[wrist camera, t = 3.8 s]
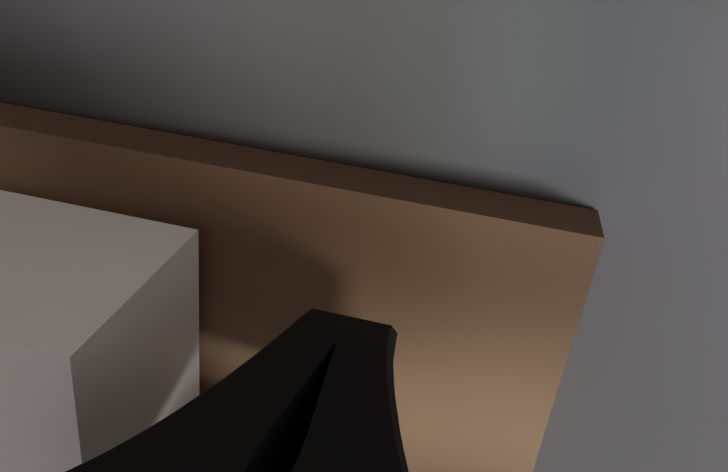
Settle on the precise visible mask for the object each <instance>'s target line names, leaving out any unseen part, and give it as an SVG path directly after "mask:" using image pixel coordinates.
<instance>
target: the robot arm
mask: <svg viewBox="0 0 728 472" xmlns="http://www.w3.org/2000/svg"><path fill="white" fill-rule="evenodd" d="M397 335H398V333H397V332H396V331H395V329H394V328H393V327H392V325H388V324H383V323H378V322H374V321H369V320H364V319H360V318H355V317H350V316H346V315H341V314H336V313H332V312H327V311H322V310H318V309H311V310H310V311H308V312H306V313H305V314H304V315H302V316H301V317H300V318H299V319H298V320H297V321H295V322H294V323H293V324H292V325H291V326H289V327H288V328H287V329H286V330H285V331H284V332H282V333H281V334H280V335H279V336H278V337H276V338H275V339H274V340H273V341H271V342H270V343H269V344H268V345H266V346H265V347H264V348H263V349H261V350H260V351H259V352H258V353H256V354H255V355H254V356H252V357H251V358H250V359H249V360H247V361H246V362H245V363H243V364H242V365H241V366H239V367H238V368H237V369H235V370H234V371H233V372H231V373H230V374H229V375H227V376H226V377H225V378H223V379H222V380H221V381H219V382H218V383H216V384H215V385H214V386H212V387H211V388H209V389H208V390H206V391H205V392H203V393H202V394H200V395H199V396H197V397H196V398H194V399H193V400H191V401H190V402H188V403H187V404H185V405H184V406H182V407H181V408H179V409H178V410H176V411H175V412H173V413H172V414H170V415H169V416H167V417H165V418H164V419H162V420H161V421H159V422H157V423H156V424H154V425H152V426H151V427H149V428H147V429H146V430H144V431H142V432H141V433H139V434H137V435H135V436H134V437H132V438H130V439H128V440H126V441H125V442H123V443H121V444H119V445H117V446H116V447H114V448H112V449H110V450H108V451H107V452H105V453H103V454H101V455H99V456H97V457H95V458H93V459H91V460H89V461H87V462H85V463H83V464H81V465H78V466H76V467H74V468H72V469H70V470H68V471H66V472H409V471H408V466H407V462H406V458H405V453H404V449H403V443H402V438H401V433H400V427H399V420H398V413H397V406H396V399H395V388H394V370H393V359H394V353H395V347H396V341H397Z"/></svg>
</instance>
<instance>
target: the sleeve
mask: <svg viewBox="0 0 728 472" xmlns="http://www.w3.org/2000/svg"><path fill="white" fill-rule="evenodd" d="M197 396H199V239H198V230H197V229H192V228H187V227H182V226H177V225H172V224H167V223H162V222H157V221H152V220H147V219H143V218H138V217H133V216H128V215H123V214H118V213H113V212H108V211H103V210H98V209H93V208H88V207H83V206H78V205H73V204H68V203H63V202H58V201H53V200H48V199H43V198H38V197H33V196H28V195H23V194H18V193H13V192H8V191H3V190H0V472H66V471H68V470H70V469H72V468H74V467H76V466H78V465H81V464H83V463H85V462H87V461H89V460H91V459H93V458H95V457H97V456H99V455H101V454H103V453H105V452H107V451H108V450H110V449H112V448H114V447H116V446H117V445H119V444H121V443H123V442H125V441H126V440H128V439H130V438H132V437H134V436H135V435H137V434H139V433H141V432H142V431H144V430H146V429H147V428H149V427H151V426H152V425H154V424H156V423H157V422H159V421H161V420H162V419H164V418H165V417H167V416H169V415H170V414H172V413H173V412H175V411H176V410H178V409H179V408H181V407H182V406H184V405H185V404H187V403H188V402H190V401H191V400H193V399H194V398H196V397H197Z"/></svg>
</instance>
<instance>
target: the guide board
mask: <svg viewBox="0 0 728 472" xmlns="http://www.w3.org/2000/svg"><path fill="white" fill-rule="evenodd" d="M0 190H3V191H8V192H13V193H18V194H23V195H28V196H33V197H38V198H43V199H48V200H53V201H58V202H63V203H68V204H73V205H78V206H83V207H88V208H93V209H98V210H103V211H108V212H113V213H118V214H123V215H128V216H133V217H138V218H143V219H147V220H152V221H157V222H162V223H167V224H172V225H177V226H182V227H187V228H192V229H197V230H198V239H199V395H200V394H202V393H203V392H205V391H206V390H208V389H209V388H211V387H212V386H214V385H215V384H216V383H218V382H219V381H221V380H222V379H223V378H225V377H226V376H227V375H229V374H230V373H231V372H233V371H234V370H235V369H237V368H238V367H239V366H241V365H242V364H243V363H245V362H246V361H247V360H249V359H250V358H251V357H252V356H254V355H255V354H256V353H258V352H259V351H260V350H261V349H263V348H264V347H265V346H266V345H268V344H269V343H270V342H271V341H273V340H274V339H275V338H276V337H278V336H279V335H280V334H281V333H282V332H284V331H285V330H286V329H287V328H288V327H289V326H291V325H292V324H293V323H294V322H295V321H297V320H298V319H299V318H300V317H301V316H302V315H304V314H305V313H306V312H308V311H310V310H311V309H318V310H322V311H327V312H332V313H336V314H341V315H346V316H350V317H355V318H360V319H364V320H369V321H374V322H378V323H383V324H388V325H392V327H393V328H394V329H395V331H396V332H397V333H398V335H397V341H396V347H395V353H394V359H393V370H394V388H395V399H396V406H397V413H398V420H399V427H400V433H401V438H402V443H403V449H404V453H405V458H406V462H407V466H408V471H409V472H533V468H534V465H535V462H536V459H537V455H538V452H539V449H540V446H541V442H542V439H543V436H544V433H545V429H546V426H547V423H548V420H549V416H550V413H551V410H552V407H553V403H554V400H555V397H556V394H557V390H558V387H559V384H560V381H561V377H562V374H563V371H564V368H565V364H566V361H567V358H568V355H569V351H570V348H571V345H572V342H573V338H574V335H575V332H576V329H577V325H578V322H579V319H580V316H581V312H582V309H583V306H584V303H585V299H586V296H587V293H588V290H589V286H590V283H591V280H592V277H593V273H594V270H595V267H596V264H597V260H598V257H599V254H600V251H601V247H602V244H603V241H604V235H603V230H602V226H601V222H600V218H599V214H598V210H594V209H588V208H583V207H577V206H572V205H566V204H561V203H555V202H550V201H544V200H539V199H533V198H528V197H522V196H517V195H511V194H506V193H500V192H494V191H489V190H483V189H478V188H472V187H467V186H461V185H456V184H450V183H445V182H439V181H434V180H428V179H423V178H417V177H412V176H406V175H401V174H395V173H389V172H384V171H378V170H373V169H367V168H362V167H356V166H351V165H345V164H340V163H334V162H329V161H323V160H318V159H312V158H307V157H301V156H296V155H290V154H284V153H279V152H273V151H268V150H262V149H257V148H251V147H246V146H240V145H235V144H229V143H224V142H218V141H213V140H207V139H202V138H196V137H190V136H185V135H179V134H174V133H168V132H163V131H157V130H152V129H146V128H141V127H135V126H130V125H124V124H119V123H113V122H108V121H102V120H97V119H91V118H85V117H80V116H74V115H69V114H63V113H58V112H52V111H47V110H41V109H36V108H30V107H25V106H19V105H14V104H8V103H3V102H0Z"/></svg>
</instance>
